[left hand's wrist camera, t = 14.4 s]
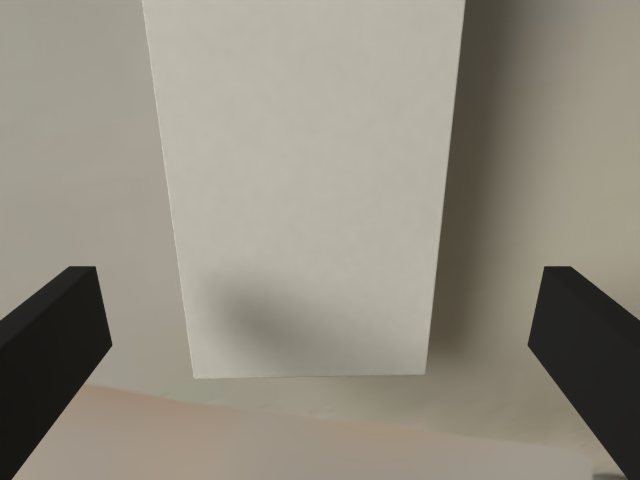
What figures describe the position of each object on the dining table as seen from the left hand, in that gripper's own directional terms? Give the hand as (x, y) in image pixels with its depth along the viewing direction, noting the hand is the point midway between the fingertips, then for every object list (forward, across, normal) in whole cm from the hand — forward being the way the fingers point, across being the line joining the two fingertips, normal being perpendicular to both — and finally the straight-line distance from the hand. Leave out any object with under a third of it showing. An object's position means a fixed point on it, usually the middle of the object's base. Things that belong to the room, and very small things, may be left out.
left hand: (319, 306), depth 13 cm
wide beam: (+11, +1, -31) cm, 33 cm away
